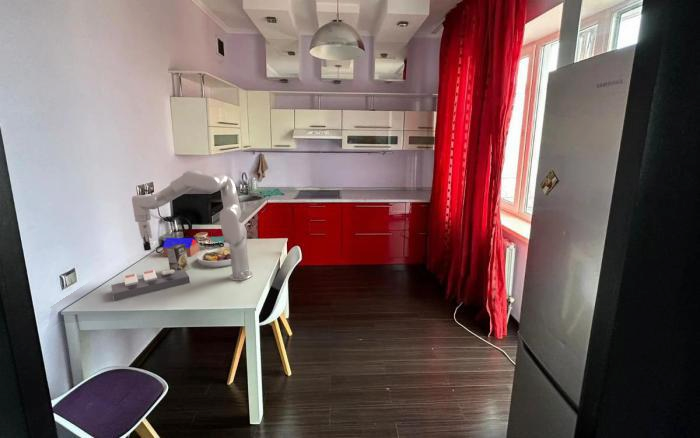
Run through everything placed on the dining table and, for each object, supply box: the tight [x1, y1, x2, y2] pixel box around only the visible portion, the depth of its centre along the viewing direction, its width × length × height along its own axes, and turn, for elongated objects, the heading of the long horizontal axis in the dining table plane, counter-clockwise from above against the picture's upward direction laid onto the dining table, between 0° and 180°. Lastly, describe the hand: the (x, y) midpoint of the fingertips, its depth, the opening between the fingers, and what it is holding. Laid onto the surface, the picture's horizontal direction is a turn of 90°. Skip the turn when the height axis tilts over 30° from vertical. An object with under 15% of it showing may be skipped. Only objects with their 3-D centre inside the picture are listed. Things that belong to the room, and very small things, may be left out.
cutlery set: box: [209, 235, 226, 250], centre depth 280 cm, size 20×30×2 cm, turn 5°
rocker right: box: [160, 269, 175, 276], centre depth 207 cm, size 8×6×2 cm
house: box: [162, 237, 200, 258], centre depth 257 cm, size 12×20×12 cm, turn 84°
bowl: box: [197, 246, 231, 268], centre depth 241 cm, size 30×30×8 cm
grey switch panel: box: [111, 269, 191, 302], centre depth 201 cm, size 14×36×4 cm, turn 125°
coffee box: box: [167, 244, 190, 272], centre depth 222 cm, size 9×6×16 cm
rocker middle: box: [141, 269, 157, 282], centre depth 202 cm, size 8×6×2 cm
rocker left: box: [122, 273, 139, 286], centre depth 197 cm, size 8×6×2 cm
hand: (147, 249), depth 206 cm, fingers closed
